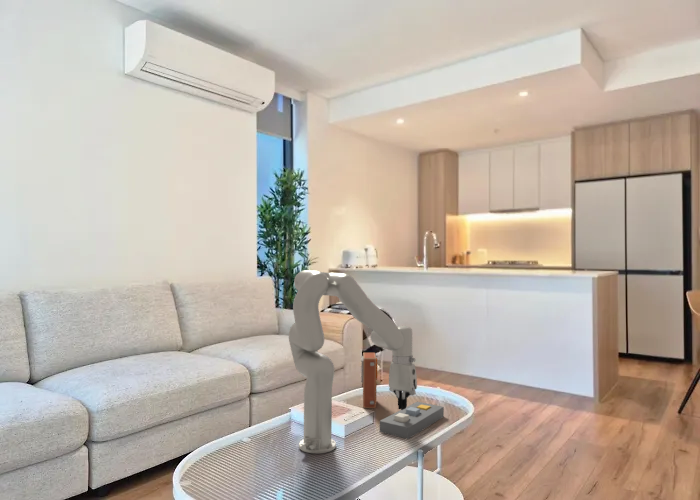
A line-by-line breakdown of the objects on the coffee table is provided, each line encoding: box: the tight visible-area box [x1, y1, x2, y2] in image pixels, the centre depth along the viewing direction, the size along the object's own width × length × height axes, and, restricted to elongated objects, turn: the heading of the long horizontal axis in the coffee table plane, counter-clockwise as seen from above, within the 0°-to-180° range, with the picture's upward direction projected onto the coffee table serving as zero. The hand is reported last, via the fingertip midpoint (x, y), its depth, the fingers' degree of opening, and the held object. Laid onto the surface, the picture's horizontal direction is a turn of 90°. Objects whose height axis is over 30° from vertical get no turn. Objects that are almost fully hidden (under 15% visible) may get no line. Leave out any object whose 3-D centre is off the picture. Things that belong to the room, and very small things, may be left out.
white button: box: [394, 413, 409, 423], centre depth 181 cm, size 4×4×3 cm
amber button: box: [417, 404, 430, 410], centre depth 196 cm, size 4×4×3 cm
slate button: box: [406, 407, 420, 416], centre depth 188 cm, size 4×4×3 cm
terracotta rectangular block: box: [360, 352, 378, 409], centre depth 213 cm, size 21×7×15 cm
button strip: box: [379, 401, 445, 440], centre depth 188 cm, size 30×12×4 cm, turn 145°
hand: (402, 408), depth 181 cm, fingers closed
